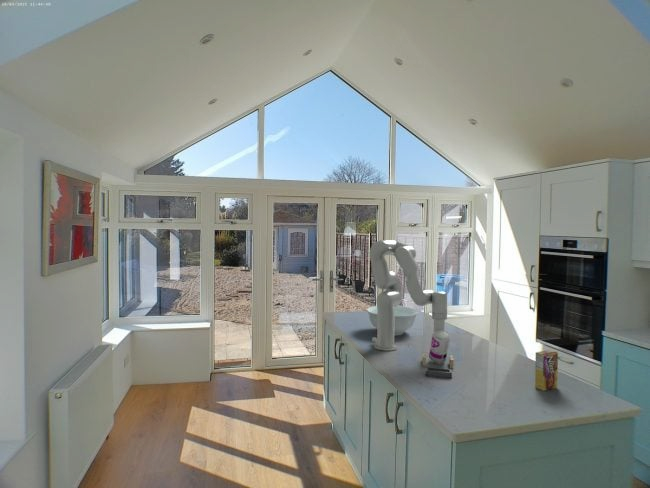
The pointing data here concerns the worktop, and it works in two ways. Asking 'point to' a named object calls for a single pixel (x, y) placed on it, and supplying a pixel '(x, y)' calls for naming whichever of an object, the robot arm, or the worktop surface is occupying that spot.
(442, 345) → the supplement can
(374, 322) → the bowl
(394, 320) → the robot arm
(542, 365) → the candy box
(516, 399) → the worktop surface
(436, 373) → the pit tray
